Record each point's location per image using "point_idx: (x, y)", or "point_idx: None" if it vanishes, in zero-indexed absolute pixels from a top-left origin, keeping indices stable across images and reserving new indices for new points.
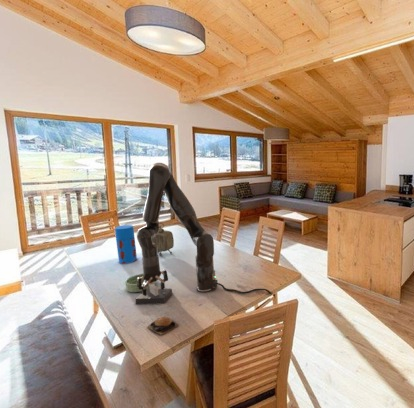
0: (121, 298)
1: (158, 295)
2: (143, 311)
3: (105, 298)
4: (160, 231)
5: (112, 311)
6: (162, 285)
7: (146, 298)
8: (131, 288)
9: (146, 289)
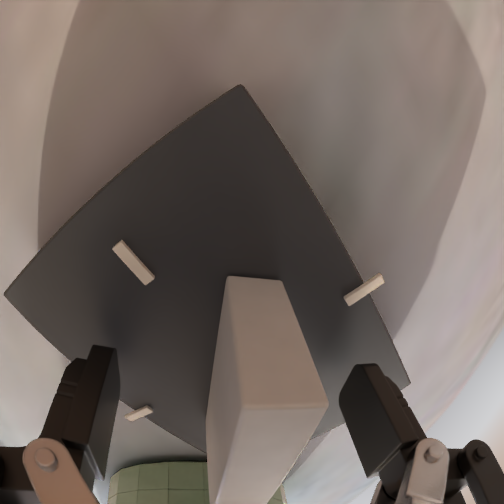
0: (349, 453)
1: (238, 258)
2: (456, 156)
3: None
4: None
5: (478, 351)
6: (90, 409)
7: (379, 314)
8: (282, 501)
9: None
